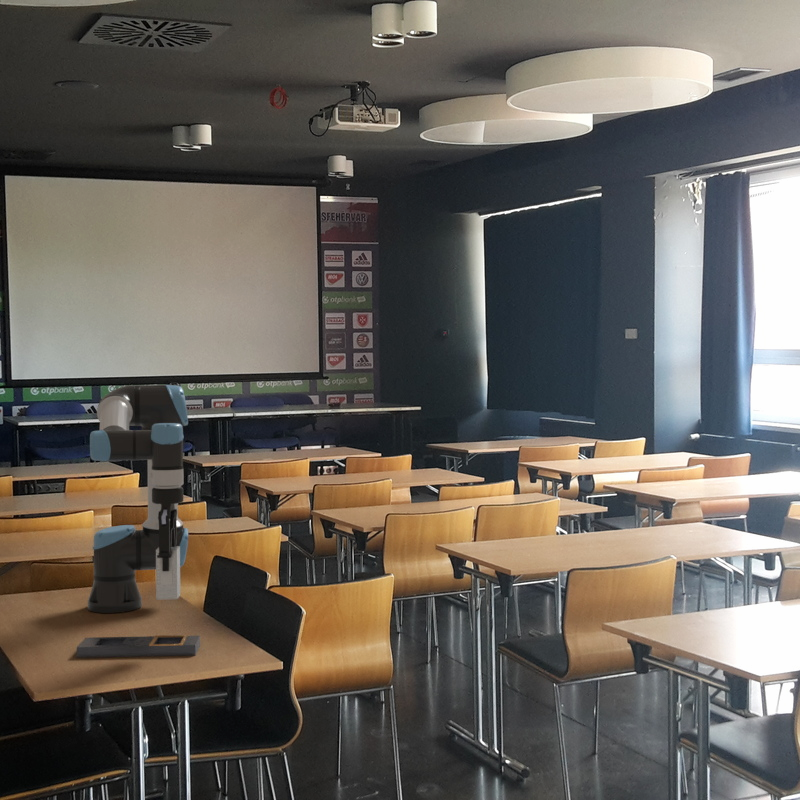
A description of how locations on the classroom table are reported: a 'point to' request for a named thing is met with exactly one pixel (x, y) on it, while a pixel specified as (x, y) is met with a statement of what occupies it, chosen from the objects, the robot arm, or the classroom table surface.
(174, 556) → the square gray post
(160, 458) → the robot arm
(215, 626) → the classroom table surface
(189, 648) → the peg insertion base
